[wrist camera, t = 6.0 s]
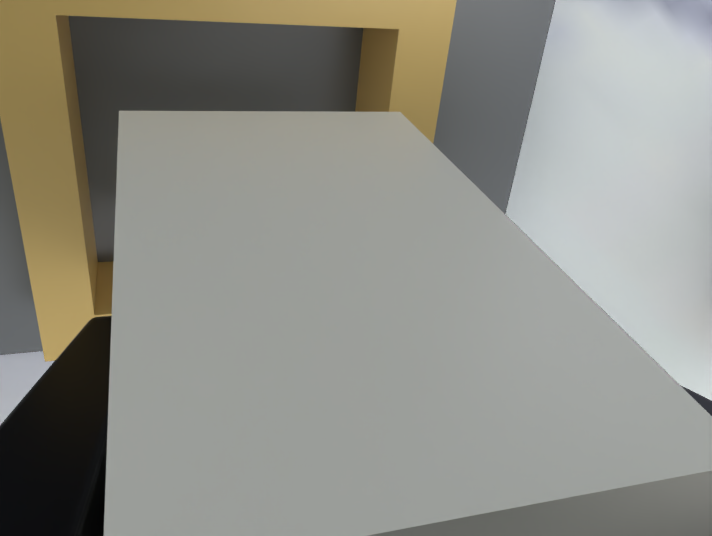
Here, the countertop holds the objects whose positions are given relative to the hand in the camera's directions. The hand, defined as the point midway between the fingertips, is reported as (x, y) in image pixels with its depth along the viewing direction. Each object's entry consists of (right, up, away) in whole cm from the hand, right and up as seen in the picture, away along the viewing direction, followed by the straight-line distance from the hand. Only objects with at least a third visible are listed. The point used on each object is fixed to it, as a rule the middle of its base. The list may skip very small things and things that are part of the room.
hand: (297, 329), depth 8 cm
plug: (-1, +1, +2) cm, 2 cm away
